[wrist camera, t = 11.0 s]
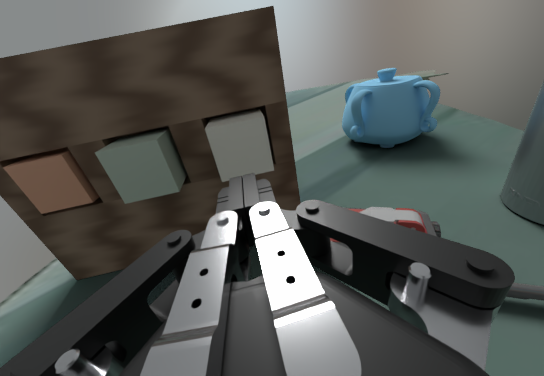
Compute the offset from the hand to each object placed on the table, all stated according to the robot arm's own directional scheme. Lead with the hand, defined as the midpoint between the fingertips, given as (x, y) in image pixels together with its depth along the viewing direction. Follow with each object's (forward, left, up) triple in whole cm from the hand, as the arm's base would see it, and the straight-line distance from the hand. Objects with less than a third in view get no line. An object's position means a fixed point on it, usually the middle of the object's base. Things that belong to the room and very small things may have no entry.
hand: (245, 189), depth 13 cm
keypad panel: (+9, -13, -12) cm, 19 cm away
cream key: (0, -10, -3) cm, 10 cm away
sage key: (+9, -10, -3) cm, 13 cm away
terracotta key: (+18, -12, -3) cm, 22 cm away
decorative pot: (-29, -32, -12) cm, 45 cm away
